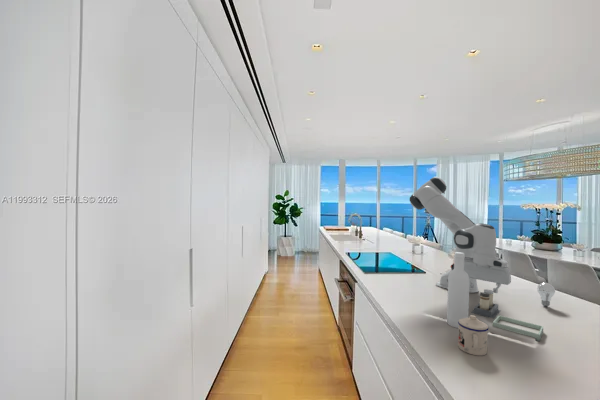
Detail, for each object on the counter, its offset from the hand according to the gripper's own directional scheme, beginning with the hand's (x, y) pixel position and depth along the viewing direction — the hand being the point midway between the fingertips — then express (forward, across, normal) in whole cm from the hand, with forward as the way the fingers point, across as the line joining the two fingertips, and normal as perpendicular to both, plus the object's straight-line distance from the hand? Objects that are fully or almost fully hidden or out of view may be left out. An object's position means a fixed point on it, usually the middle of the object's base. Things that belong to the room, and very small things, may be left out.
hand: (483, 290), depth 134 cm
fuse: (+10, 0, +7) cm, 13 cm away
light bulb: (+12, +18, +39) cm, 45 cm away
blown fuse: (+10, 0, 0) cm, 11 cm away
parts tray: (+12, +14, -7) cm, 20 cm away
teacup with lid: (+12, +7, -40) cm, 42 cm away
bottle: (+12, -4, -20) cm, 24 cm away
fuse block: (+12, 0, +4) cm, 12 cm away
